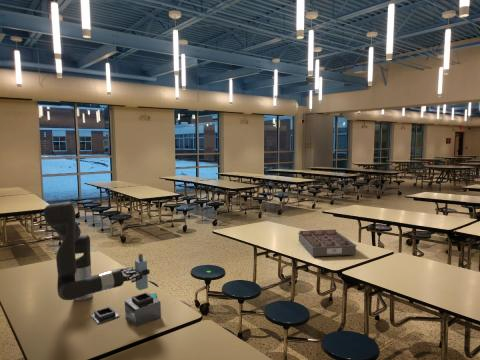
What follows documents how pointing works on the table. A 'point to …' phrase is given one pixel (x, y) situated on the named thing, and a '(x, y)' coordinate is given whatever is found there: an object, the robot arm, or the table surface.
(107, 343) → the table surface
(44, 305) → the table surface
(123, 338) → the table surface
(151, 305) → the box with square opening
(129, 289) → the table surface
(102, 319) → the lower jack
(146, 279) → the plug
